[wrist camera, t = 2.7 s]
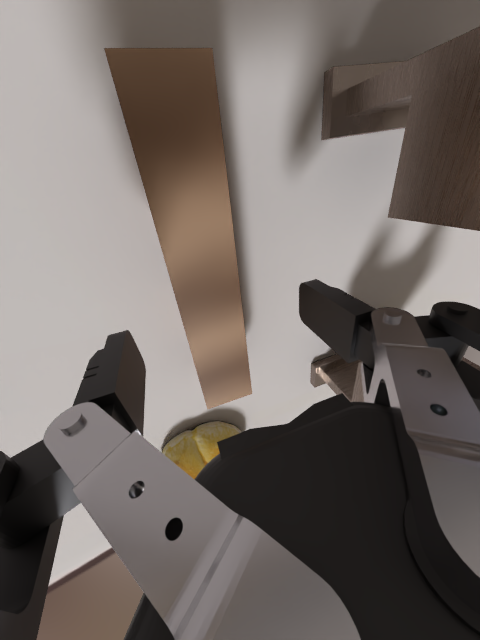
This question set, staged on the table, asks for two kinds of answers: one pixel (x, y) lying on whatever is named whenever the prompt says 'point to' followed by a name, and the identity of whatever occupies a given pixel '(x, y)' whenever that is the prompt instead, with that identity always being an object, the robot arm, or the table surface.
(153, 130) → the rail
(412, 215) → the brackets
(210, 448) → the bread roll
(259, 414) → the table surface
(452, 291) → the table surface
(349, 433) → the robot arm
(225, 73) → the table surface
